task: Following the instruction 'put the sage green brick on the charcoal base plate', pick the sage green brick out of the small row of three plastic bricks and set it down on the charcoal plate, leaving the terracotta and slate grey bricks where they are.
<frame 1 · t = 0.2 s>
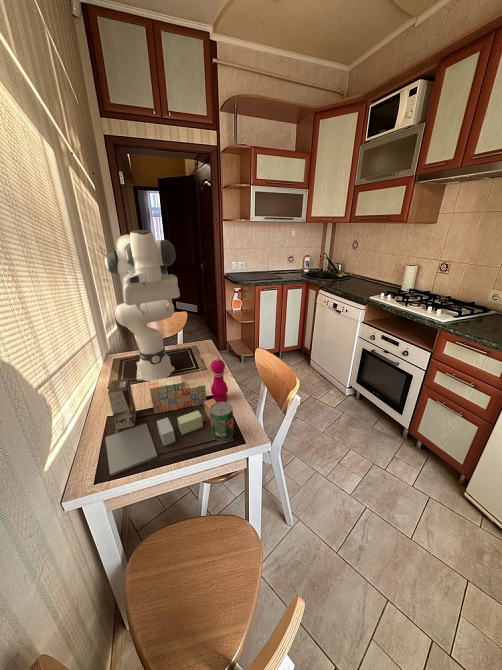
hand: (155, 313, 104), 39 cm above the table, tool pointing down, fingers open, 8 cm apart
pepper mill: (220, 398, 118), on the table
canned tomato: (223, 433, 99), on the table
coffee box: (127, 420, 106), on the table
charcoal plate: (130, 448, 93), on the table
slate brick: (166, 436, 97), on the table
stack of blocks: (181, 405, 115), on the table
sage brick: (191, 427, 102), on the table
terracotta brick: (213, 415, 108), on the table
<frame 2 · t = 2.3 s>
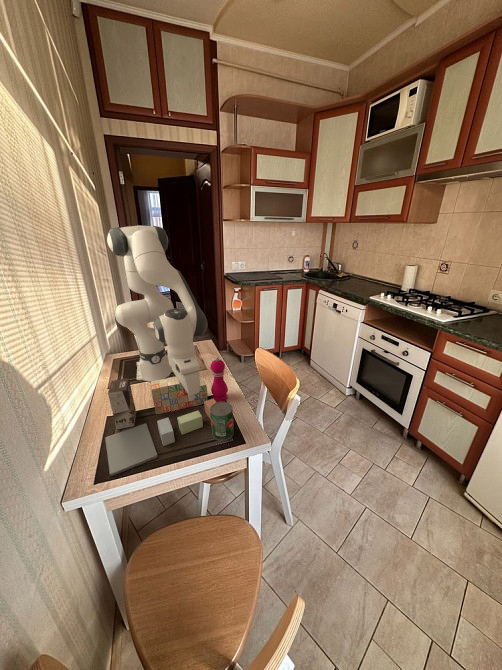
hand: (186, 393, 96), 15 cm above the table, tool pointing down, fingers open, 8 cm apart
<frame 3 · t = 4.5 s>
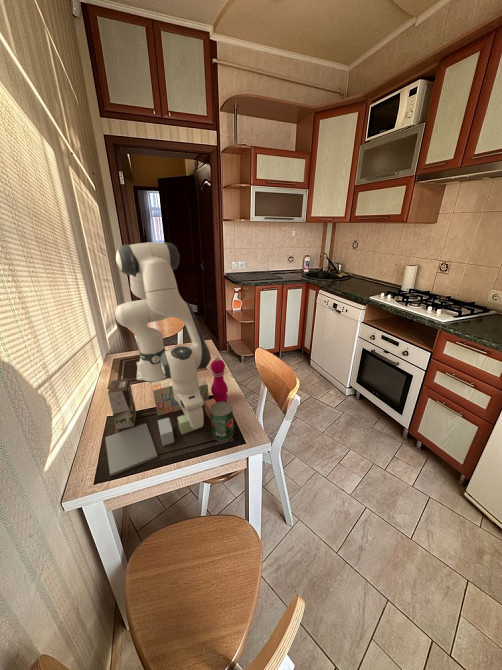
hand: (190, 423, 101), 2 cm above the table, tool pointing down, fingers closed on sage brick, 4 cm apart
sage brick: (190, 427, 102), on the table, touching gripper
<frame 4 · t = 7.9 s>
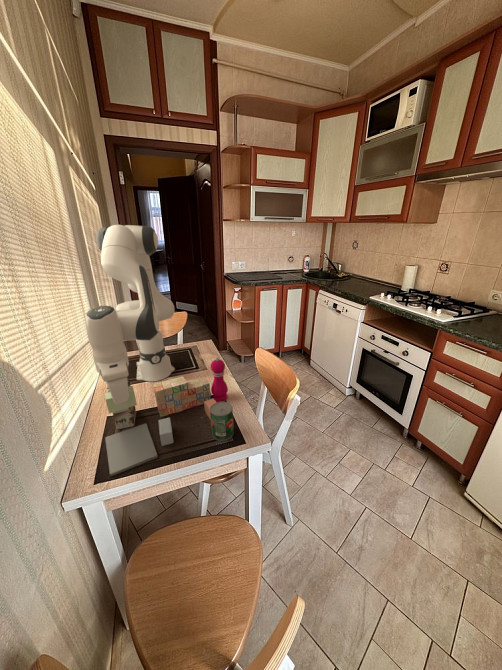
hand: (121, 400, 85), 19 cm above the table, tool pointing down, fingers closed on sage brick, 4 cm apart
sage brick: (122, 405, 86), point 17 cm above the table, touching gripper
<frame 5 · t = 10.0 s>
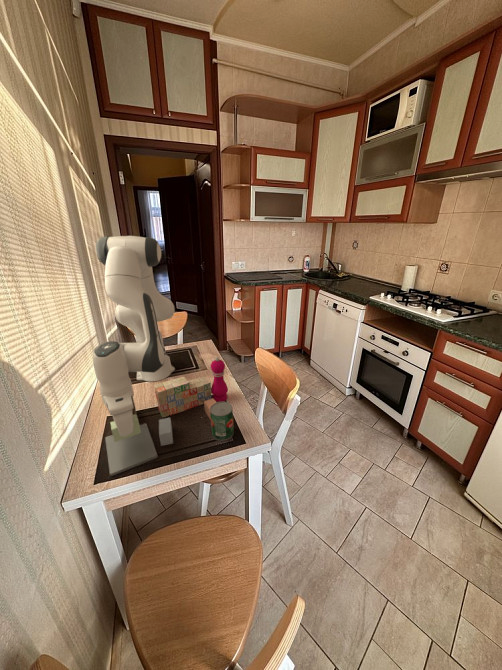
hand: (126, 429, 89), 8 cm above the table, tool pointing down, fingers closed on sage brick, 4 cm apart
sage brick: (127, 433, 90), point 6 cm above the table, touching gripper
when the fingers open (4 cm above the table, at t = 11.6 s): sage brick drops 1 cm, resting on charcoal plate.
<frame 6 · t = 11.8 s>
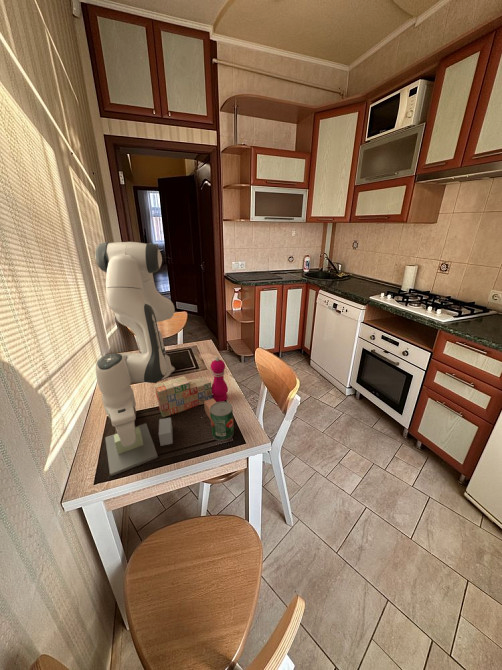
hand: (128, 437, 91), 4 cm above the table, tool pointing down, fingers open, 6 cm apart
sage brick: (130, 445, 92), point 1 cm above the table, touching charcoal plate
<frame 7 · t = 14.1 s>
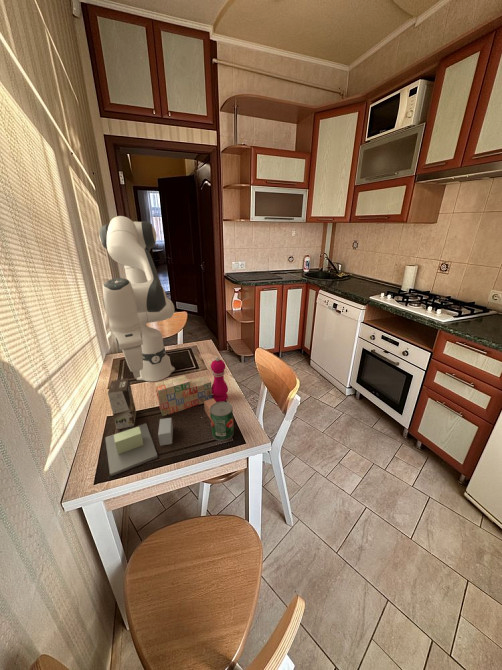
hand: (134, 370, 91), 26 cm above the table, tool pointing down, fingers open, 8 cm apart
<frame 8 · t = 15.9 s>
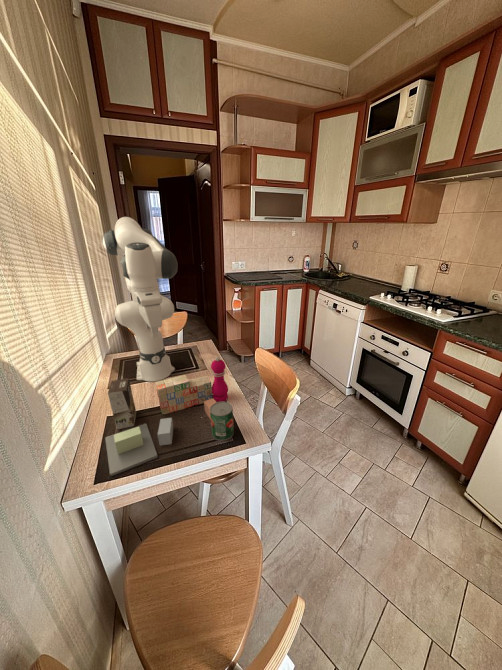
hand: (152, 332, 96), 35 cm above the table, tool pointing down, fingers open, 8 cm apart
at the end: sage brick inside the target area on the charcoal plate (0.1 cm from its centre), point 1.0 cm above the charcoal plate's base; terracotta brick moved 0.2 cm from its start; slate brick moved 0.2 cm from its start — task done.
